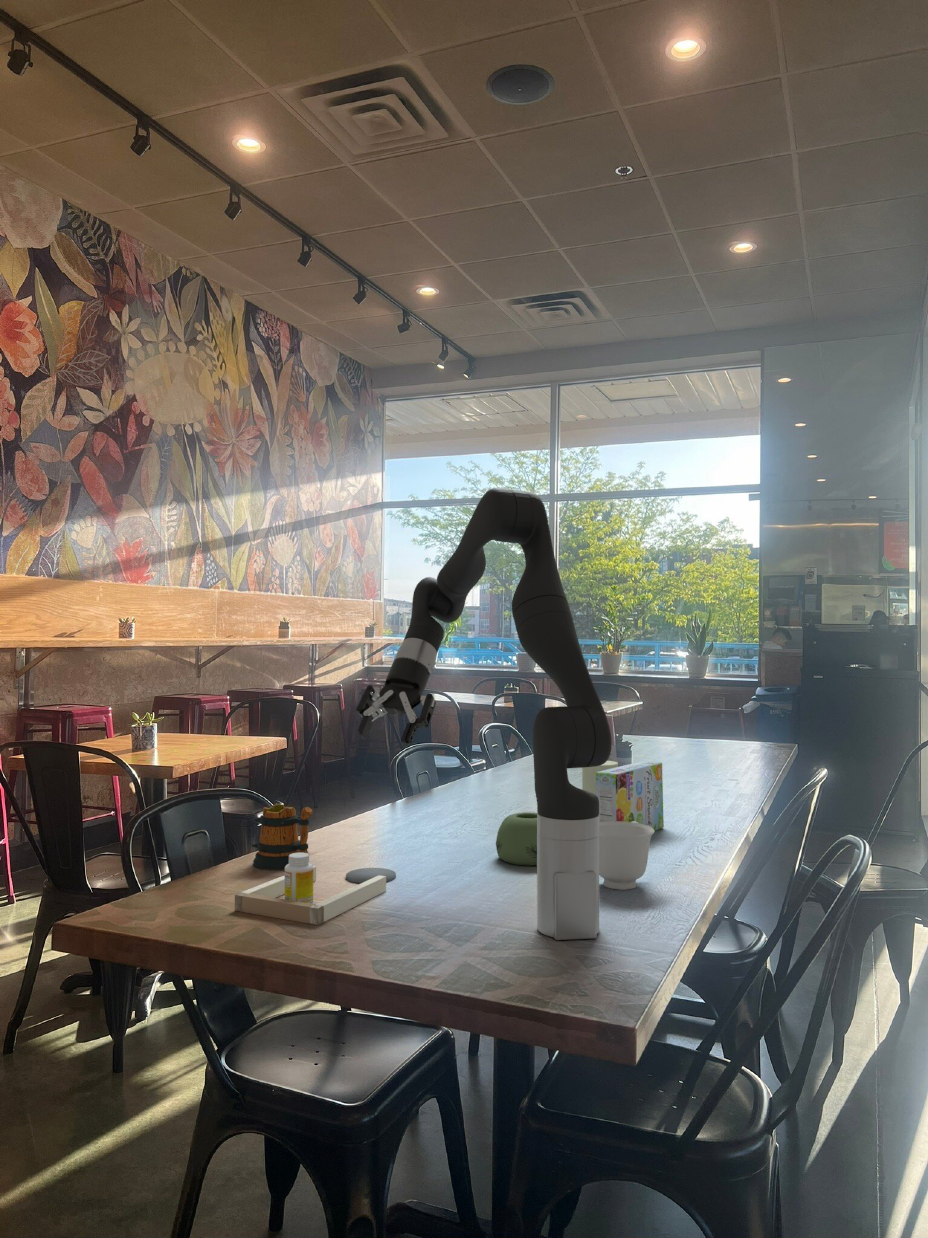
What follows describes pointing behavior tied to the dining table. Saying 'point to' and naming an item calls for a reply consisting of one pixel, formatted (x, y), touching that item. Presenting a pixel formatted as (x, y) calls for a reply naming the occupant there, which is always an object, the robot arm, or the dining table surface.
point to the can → (594, 775)
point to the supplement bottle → (299, 878)
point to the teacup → (623, 853)
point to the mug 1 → (280, 836)
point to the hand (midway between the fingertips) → (382, 740)
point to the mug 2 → (518, 839)
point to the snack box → (632, 794)
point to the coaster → (369, 874)
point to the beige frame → (267, 904)
